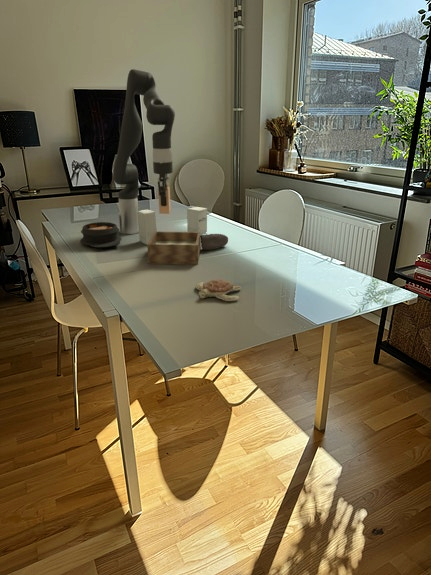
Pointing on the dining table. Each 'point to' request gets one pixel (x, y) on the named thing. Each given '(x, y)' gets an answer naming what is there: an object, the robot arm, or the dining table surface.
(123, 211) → the robot arm
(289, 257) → the dining table surface
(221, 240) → the perforated stone tool
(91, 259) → the dining table surface
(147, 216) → the skincare box
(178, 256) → the walnut box
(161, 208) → the terracotta peg
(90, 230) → the casserole
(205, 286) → the decorative turtle
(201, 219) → the supplement box
